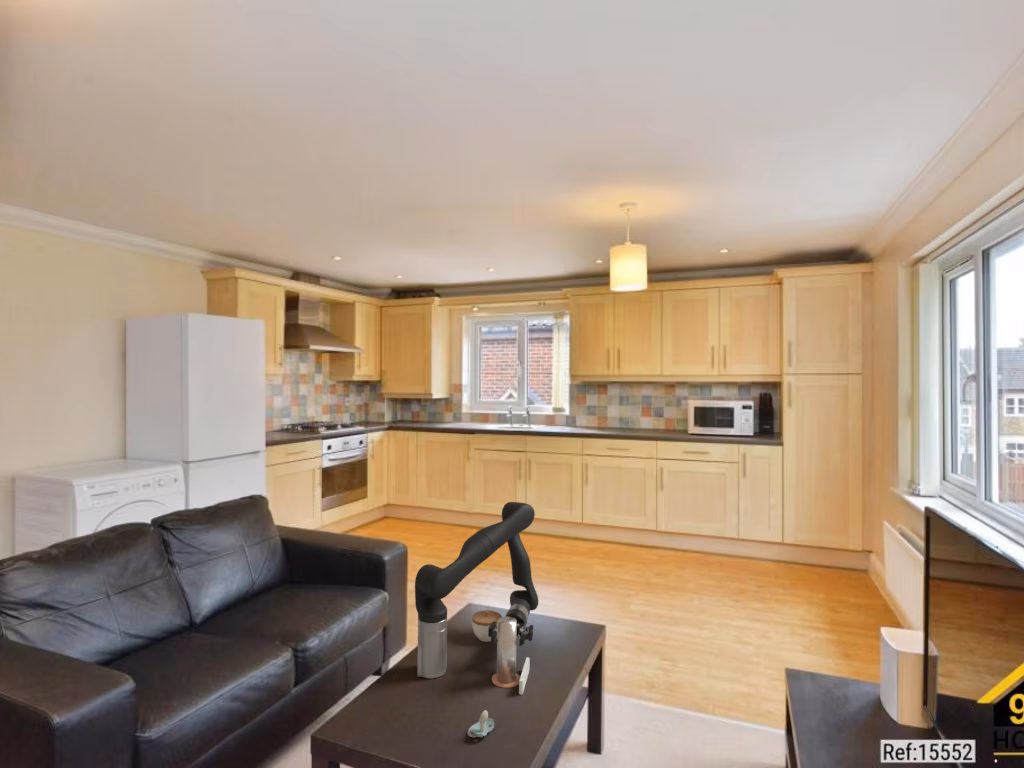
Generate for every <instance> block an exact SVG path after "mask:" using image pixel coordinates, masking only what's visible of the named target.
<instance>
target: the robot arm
mask: <svg viewBox="0 0 1024 768" xmlns="http://www.w3.org/2000/svg"><path fill="white" fill-rule="evenodd" d="M535 515H536V513H535V508H534V507H533V506H532V505H531V504H528V503H526V502H519V501H517V502H516V501H509V502H507V503H505V504H504V505H503V507H502V509H501V520H502V521H499V522H496V523H494V524H491V525H488V526H485V527H483V528H480V529H479V530H477V531H476V532H474V533H473V534H472V535H471V536H470V537H468V538H467V539H466V540H465V541H464V542H463V544H462V546H461V548H460V552H459V555H458V556H457V558H456V559H455V560H454V561H452V563H450V564H449V565H447V566H446V567H444V568H443V567H440V566H438V565H434V564H431V563H429V564H424V565H423V566H421V567H420V568H419V570H418V571H417V573H416V575H415V580H414V582H415V583H414V596H415V597H414V598H415V599H414V602H415V610H416V612H417V618H418V619H417V656H416V657H417V667H416V669H417V670H416V671H417V673H416V675H417V676H416V677H417V678H418V677H419V678H420V677H422V678H425V679H435V678H439V677H442V676H444V675H445V674H446V672H447V663H448V661H447V659H448V656H447V655H448V654H447V653H448V652H447V651H448V649H447V648H448V645H447V644H448V608H447V606H446V605H445V604H444V602H443V600H442V599H445V598H446V597H447V596H448V595H450V594H451V593H452V591H453V590H455V588H456V587H457V586H458V585H459V584H460V583H461V582H462V581H463V580H464V579H465V578H466V577H468V575H469V574H471V573H472V572H473V571H474V570H476V568H477V567H478V566H479V565H481V564H482V563H483V562H484V561H486V560H487V559H489V557H491V556H492V555H493V554H494V553H495V552H496V551H498V549H501V547H502V546H504V545H505V544H506V543H507V545H508V550H509V555H510V556H509V557H510V562H511V575H512V576H511V577H512V581H513V584H514V585H516V586H520V587H523V588H525V589H520V590H519V589H515V590H513V591H512V592H511V593H510V595H509V605H510V607H509V608H508V610H507V612H506V613H505V616H504V617H513V618H515V619H516V620H517V638H516V639H518V641H519V643H518V645H519V647H522V646H523V645H525V643H526V641H527V640H528V641H529V642H531V641H533V637H534V625H532V624H530V625H529V626H527V624H528V619H529V615H530V612H531V611H535V610H536V609H537V608H538V605H539V595H538V593H537V590H536V588H535V586H534V582H533V577H532V569H531V567H532V566H531V561H530V556H529V554H528V551H527V549H526V548H525V545H524V544H523V543H524V542H522V539H521V536H520V533H521V532H523V531H525V530H527V528H529V527H530V526H531V525H532V523H533V522H534V520H535ZM488 636H489V637H491V641H490V642H492V644H496V643H497V642H496V641H497V624H496V622H495V621H494V622H492V624H491V625H490V627H489V628H488Z"/></svg>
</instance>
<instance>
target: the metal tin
mask: <svg viewBox="0 0 1024 768" xmlns="http://www.w3.org/2000/svg"><path fill="white" fill-rule="evenodd" d="M517 639H518V638H517V620H516V619H515V618H513V617H505V616H502V617H501V618H499V619H498V620H497V640H496V641H497V642H496V673H497V681H499V682H500V683H504V684H509V683H513V682H514V681H515V680H516V673H517Z"/></svg>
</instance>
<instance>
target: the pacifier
mask: <svg viewBox="0 0 1024 768" xmlns="http://www.w3.org/2000/svg"><path fill="white" fill-rule="evenodd" d="M494 727H495V720H494V719H493V718H492V717H489V712H488V710H485V709H484V711H482V713H481V714H480V717H479V719H478V721H477V722H475V723H474V724H473V725H472V724H471V726H470V727H469V728H468V730H467V736H468V737H470V738H477V737H478V738H479V737H480V738H483V736H484V737H486V736H487V735H488V733H490V732H492V731H493V729H494Z"/></svg>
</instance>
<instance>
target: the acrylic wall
mask: <svg viewBox="0 0 1024 768" xmlns="http://www.w3.org/2000/svg"><path fill="white" fill-rule="evenodd" d="M530 662H531V661H530V657H527V656H526V658H525V661H524V664H523V667H522V670H521V674H520V680H519V684H518V688H519V689H518V695H521V696H522V695H524V691H525V687H526V683H527V680H528V677H529V673H530V666H531V665H530Z"/></svg>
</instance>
